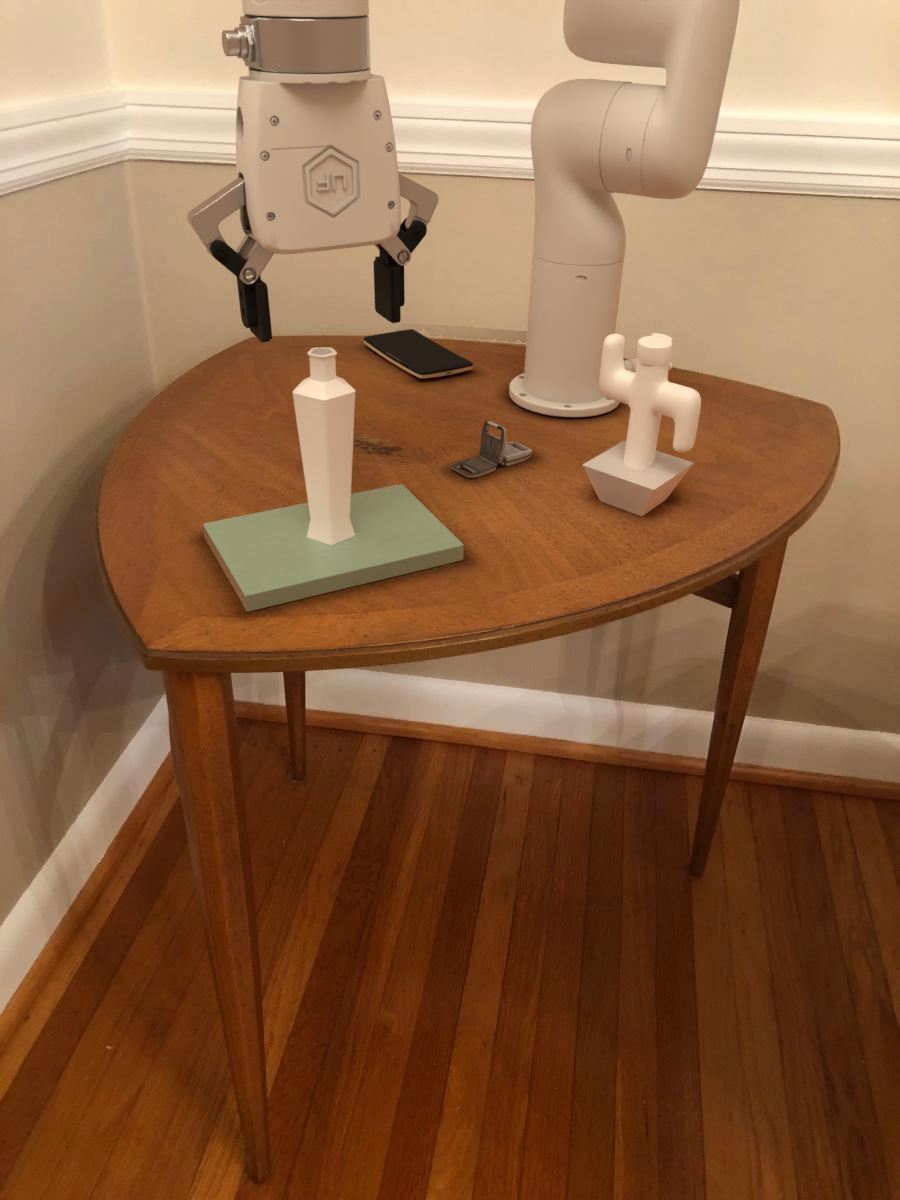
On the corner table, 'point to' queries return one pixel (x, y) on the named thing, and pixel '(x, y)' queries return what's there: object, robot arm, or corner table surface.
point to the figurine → (643, 426)
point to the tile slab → (328, 548)
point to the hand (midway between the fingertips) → (325, 326)
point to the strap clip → (493, 454)
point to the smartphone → (417, 354)
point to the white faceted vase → (326, 446)
